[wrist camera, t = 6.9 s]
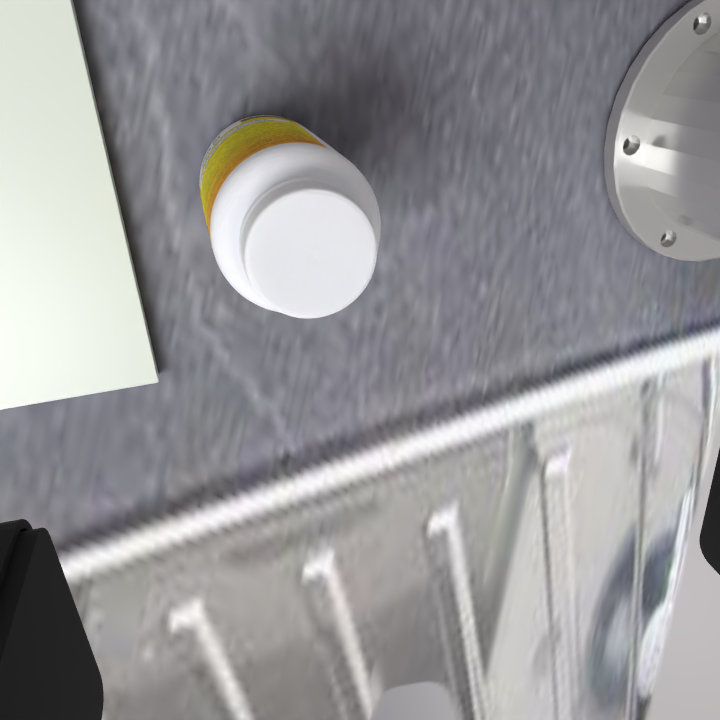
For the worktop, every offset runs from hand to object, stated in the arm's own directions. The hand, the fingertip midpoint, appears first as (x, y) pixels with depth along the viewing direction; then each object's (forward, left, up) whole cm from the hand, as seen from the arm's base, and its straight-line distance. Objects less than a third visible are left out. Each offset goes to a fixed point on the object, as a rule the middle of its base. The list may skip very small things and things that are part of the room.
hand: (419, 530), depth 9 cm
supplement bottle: (-1, 0, -22) cm, 22 cm away
